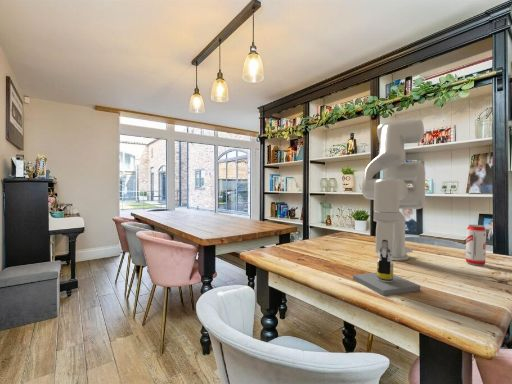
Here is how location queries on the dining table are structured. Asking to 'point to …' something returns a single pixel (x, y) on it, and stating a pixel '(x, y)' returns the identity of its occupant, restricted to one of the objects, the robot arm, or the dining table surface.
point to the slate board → (386, 284)
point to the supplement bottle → (385, 276)
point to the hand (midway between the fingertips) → (385, 269)
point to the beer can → (476, 245)
